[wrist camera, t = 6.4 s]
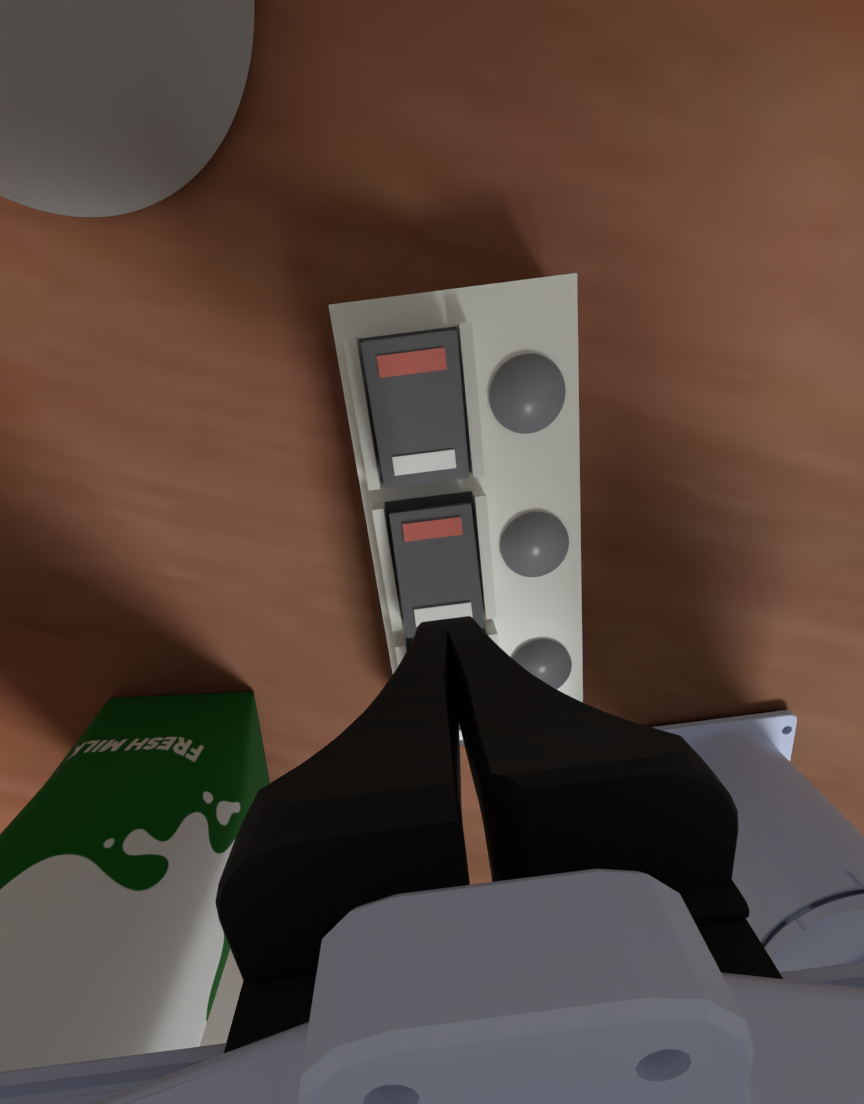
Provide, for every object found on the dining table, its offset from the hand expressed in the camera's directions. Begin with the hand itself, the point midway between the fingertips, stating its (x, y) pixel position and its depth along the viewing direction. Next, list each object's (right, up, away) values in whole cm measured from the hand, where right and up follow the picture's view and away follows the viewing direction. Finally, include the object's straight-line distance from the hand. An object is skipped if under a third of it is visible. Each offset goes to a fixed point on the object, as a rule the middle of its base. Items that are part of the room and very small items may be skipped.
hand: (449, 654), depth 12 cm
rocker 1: (-1, +7, +3) cm, 8 cm away
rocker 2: (0, +2, +5) cm, 6 cm away
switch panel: (+1, +2, +10) cm, 10 cm away
